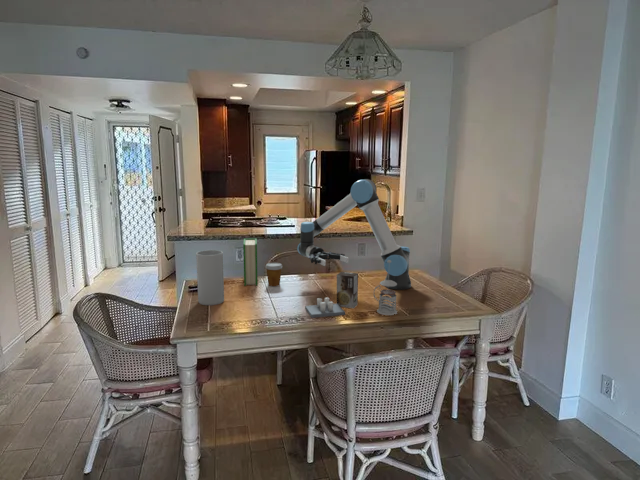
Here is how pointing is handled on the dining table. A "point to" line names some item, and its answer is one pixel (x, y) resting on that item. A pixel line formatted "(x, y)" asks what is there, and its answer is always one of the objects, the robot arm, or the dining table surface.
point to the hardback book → (250, 261)
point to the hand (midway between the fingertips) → (336, 261)
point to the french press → (387, 298)
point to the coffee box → (347, 289)
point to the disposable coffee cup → (274, 273)
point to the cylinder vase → (210, 277)
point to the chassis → (324, 309)
